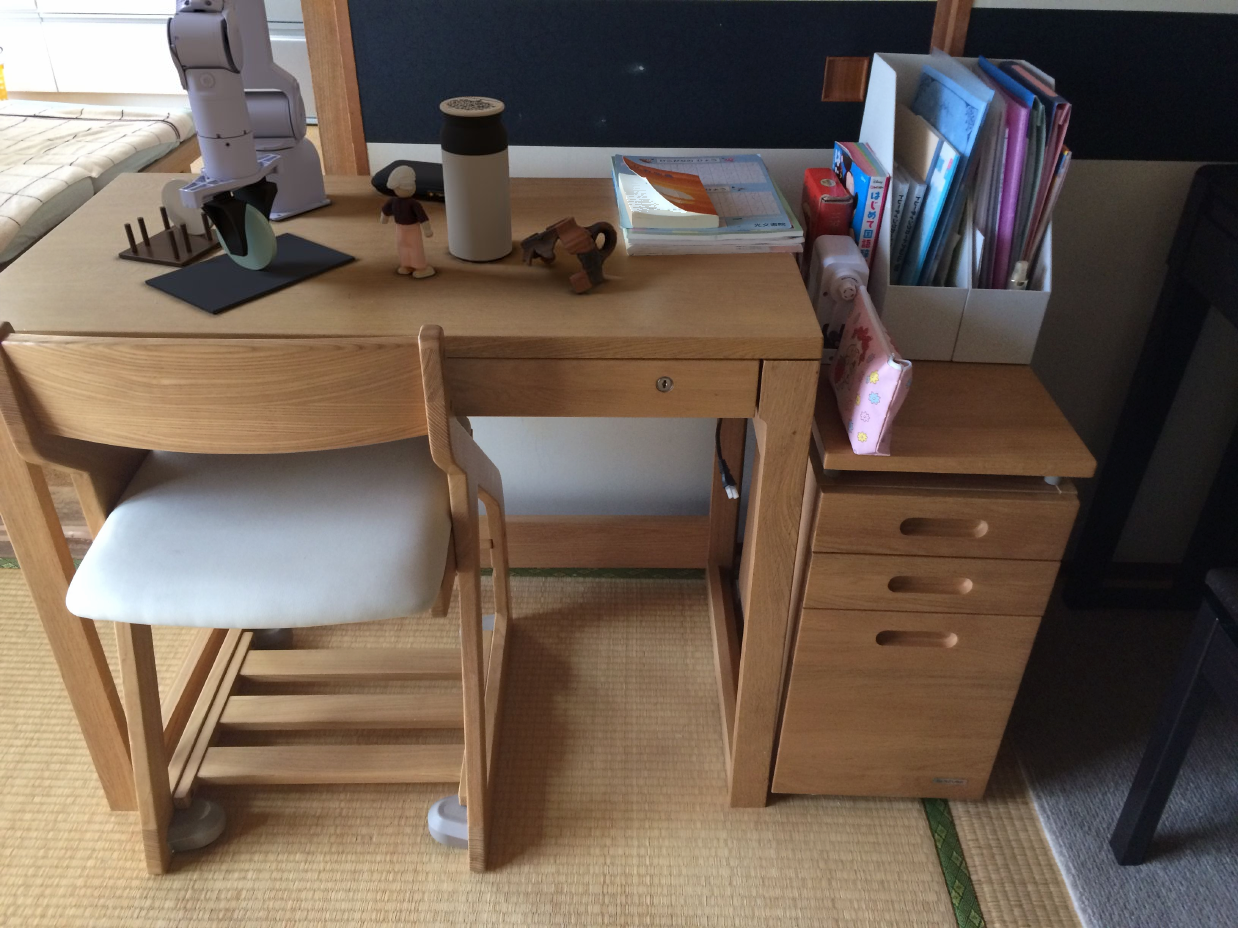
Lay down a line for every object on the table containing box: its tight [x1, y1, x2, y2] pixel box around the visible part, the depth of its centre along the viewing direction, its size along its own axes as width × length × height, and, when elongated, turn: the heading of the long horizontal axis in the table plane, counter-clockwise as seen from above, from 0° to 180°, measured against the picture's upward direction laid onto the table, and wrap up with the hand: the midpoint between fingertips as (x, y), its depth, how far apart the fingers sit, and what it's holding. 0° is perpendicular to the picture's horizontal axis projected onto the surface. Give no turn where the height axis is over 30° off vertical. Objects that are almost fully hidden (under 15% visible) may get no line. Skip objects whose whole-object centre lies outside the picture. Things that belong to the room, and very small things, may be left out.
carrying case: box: [370, 159, 445, 201], centre depth 136 cm, size 11×3×15 cm
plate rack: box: [118, 205, 222, 268], centre depth 116 cm, size 11×9×4 cm
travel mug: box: [439, 96, 513, 262], centre depth 113 cm, size 8×8×18 cm
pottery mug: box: [519, 216, 618, 295], centre depth 112 cm, size 12×10×8 cm
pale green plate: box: [215, 204, 277, 270], centre depth 109 cm, size 1×8×8 cm, turn 68°
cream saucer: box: [160, 176, 215, 235], centre depth 117 cm, size 1×7×7 cm, turn 75°
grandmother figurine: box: [379, 166, 435, 279], centre depth 109 cm, size 8×4×13 cm, turn 71°
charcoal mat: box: [144, 232, 356, 315], centre depth 111 cm, size 20×13×1 cm, turn 144°
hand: (249, 249), depth 110 cm, fingers open, 3 cm apart
